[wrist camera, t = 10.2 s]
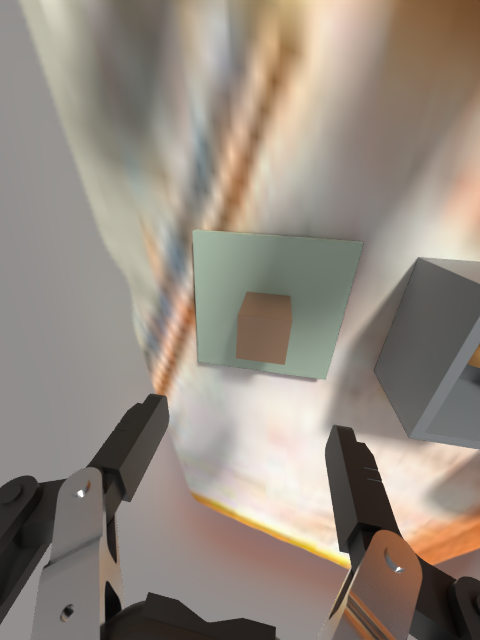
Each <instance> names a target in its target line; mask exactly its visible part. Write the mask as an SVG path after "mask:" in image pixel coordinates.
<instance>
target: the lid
mask: <svg viewBox="0 0 480 640" xmlns="http://www.w3.org/2000/svg"><path fill="white" fill-rule="evenodd" d="M363 245H364V243H363V242H361V241H351V240H337V239H323V238H309V237H295V236H281V235H267V234H253V233H239V232H224V231H210V230H193V254H194V276H195V299H196V322H197V344H198V362H202V363H209V364H216V365H223V366H231V367H238V368H245V369H252V370H259V371H266V372H273V373H281V374H288V375H295V376H302V377H309V378H316V379H323V380H326V377H327V373H328V370H329V366H330V362H331V359H332V355H333V352H334V348H335V345H336V341H337V337H338V334H339V330H340V327H341V323H342V320H343V316H344V312H345V309H346V305H347V302H348V298H349V295H350V291H351V287H352V284H353V280H354V277H355V273H356V270H357V266H358V262H359V259H360V255H361V252H362V248H363Z"/></svg>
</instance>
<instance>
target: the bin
mask: <svg viewBox="0 0 480 640" xmlns="http://www.w3.org/2000/svg"><path fill="white" fill-rule="evenodd" d="M479 344H480V262H474V261H461V260H448V259H435V258H422V257H418V260H417V262H416V265H415V267H414V270H413V273H412V275H411V278H410V280H409V283H408V285H407V288H406V290H405V293H404V295H403V298H402V300H401V303H400V305H399V308H398V311H397V313H396V316H395V318H394V321H393V323H392V326H391V328H390V331H389V333H388V336H387V338H386V341H385V344H384V346H383V349H382V351H381V354H380V356H379V359H378V361H377V364H376V366H375V369H374V373H375V374H376V376H377V378H378V380H379V382H380V384H381V386H382V388H383V390H384V392H385V393H386V395H387V397H388V399H389V401H390V403H391V405H392V407H393V409H394V411H395V412H396V414H397V416H398V418H399V420H400V422H401V424H402V426H403V428H404V430H405V432H406V433H407V435H408V437H409V438H412V439H418V440H424V441H431V442H437V443H443V444H449V445H455V446H461V447H467V448H474V449H480V368H477V367H474V366H471V365H469V364H467V363H468V362H469V360H470V358H471V357H472V355H473V353H474V352H475V350H476V349H477V347H478V345H479Z"/></svg>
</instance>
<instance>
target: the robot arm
mask: <svg viewBox="0 0 480 640" xmlns="http://www.w3.org/2000/svg"><path fill="white" fill-rule="evenodd" d="M168 423H169V410H168V403H167V397H166V396H163V395H157V394H150V395H148V397H147V398H146V400H145V401H144V403H143V404H141V403H137V404H136V405H134V406H133V407H132V408H130V409H129V410H128V411H127V412H126V414H125V415H124V416H123V418H122V419H121V421H120V423H118V425H117V426H116V427H115V430H114V431H113V432H112V433H111V434H110V436H109V437H108V439H107V440H106V441H105V443H104V444H103V446H102V447H101V448H100V450H99V451H98V453H97V454H96V455H95V457H94V458H93V459H92V461H91V462H90V463H89V465H88V466H87V467H86V468H83V469H80V470H78V471H76V472H75V473H73V474H72V475H71V476H70V477H68V478H67V479H62V480H56V481H49V482H44V483H38V482H37V480H36V479H35V478H34V477H32V476H21V477H18V478H15V479H13V480H11V481H9V482H7V483H6V484H5V485H3V486H2V487H1V488H0V624H1V623H2V621H3V619H4V618H5V616H6V615H7V613H8V611H9V609H10V608H11V606H12V605H13V603H14V602H15V600H16V598H17V597H18V595H19V594H20V592H21V590H22V589H23V587H24V585H25V584H26V582H27V580H28V579H29V577H30V576H31V574H32V572H33V571H34V569H35V567H36V566H37V564H38V563H39V561H40V559H41V558H42V556H43V555H44V553H45V551H46V550H47V548H48V547H49V545H50V543H52V548H51V556H50V560H49V562H48V564H47V565H46V566H44V568H43V570H42V572H41V576H40V579H39V585H38V592H37V599H36V606H35V613H34V620H33V627H32V634H31V640H280V639H279V638H277V637H276V636H275V634H276V627H274V626H270V625H267V624H263V623H260V622H256V621H252V620H249V619H245V618H239V619H232V620H225V621H218V622H211V623H210V622H206V621H204V620H203V619H202V618H200V617H199V616H198V615H197V614H195V613H194V612H193V611H191V610H190V609H189V608H188V607H186V606H185V605H184V604H182V603H181V602H180V601H179V600H176V599H172V598H168V597H165V596H161V595H157V594H154V593H150V592H149V593H148V595H147V598H146V601H141V602H138V603H135V604H133V605H131V606H129V607H127V608H125V596H124V585H123V579H122V574H121V569H120V559H119V544H118V529H117V528H118V527H117V513H116V510H117V508H118V506H119V504H120V503H121V501H122V500H123V501H128V502H131V500H132V498H133V496H134V494H135V492H136V490H137V488H138V486H139V484H140V482H141V480H142V478H143V476H144V474H145V472H146V470H147V467H148V466H149V464H150V461H151V459H152V458H153V455H154V453H155V451H156V449H157V447H158V445H159V443H160V441H161V439H162V437H163V435H164V433H165V431H166V429H167V427H168ZM325 460H326V467H327V473H328V480H329V486H330V492H331V499H332V505H333V512H334V518H335V525H336V531H337V538H338V544H339V550H340V552H345V553H349V555H350V561H351V567H350V570H349V572H348V574H347V576H346V578H345V580H344V583H343V585H342V587H341V589H340V591H339V593H338V596H337V598H336V600H335V602H334V604H333V607H332V609H331V611H330V613H329V615H328V617H327V619H326V622H325V623H324V625H323V627H322V629H321V630H320V632H319V634H318V636H317V638H316V640H407V638H408V634H411V635H412V636H413V637H415V638H416V639H418V640H480V581H479V580H477V579H474V578H472V577H461V578H459V579H458V580H456V579H454V578H453V577H451V576H449V575H447V574H446V573H444V572H442V571H441V570H439V569H437V568H435V567H434V566H432V565H430V564H429V563H427V562H425V561H424V560H423V559H421V558H420V557H419V556H418V555H417V554H416V553H414V551H413V550H412V548H411V547H410V546H409V544H408V543H407V542H406V541H405V540H404V539H403V537H402V535H401V533H400V531H399V529H398V526H397V523H396V520H395V517H394V515H393V512H392V509H391V506H390V503H389V500H388V497H387V494H386V491H385V488H384V485H383V483H382V479H381V476H380V473H379V472H378V468H377V465H376V462H375V459H374V456H373V454H372V453H371V451H370V450H369V449H368V447H367V446H366V445H365V443H361V442H357V441H356V437H355V434H354V431H353V429H352V428H350V427H344V426H338V425H333V427H332V430H331V433H330V435H329V438H328V441H327V444H326V448H325Z"/></svg>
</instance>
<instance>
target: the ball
mask: <svg viewBox="0 0 480 640" xmlns="http://www.w3.org/2000/svg"><path fill="white" fill-rule="evenodd" d="M467 364H469V365H471V366H474V367H477V368H480V344H479V345H478V347H477V349H476V350H475V352H474V353H473V355H472V357H471V358H470V360H469V362H468V363H467Z"/></svg>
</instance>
